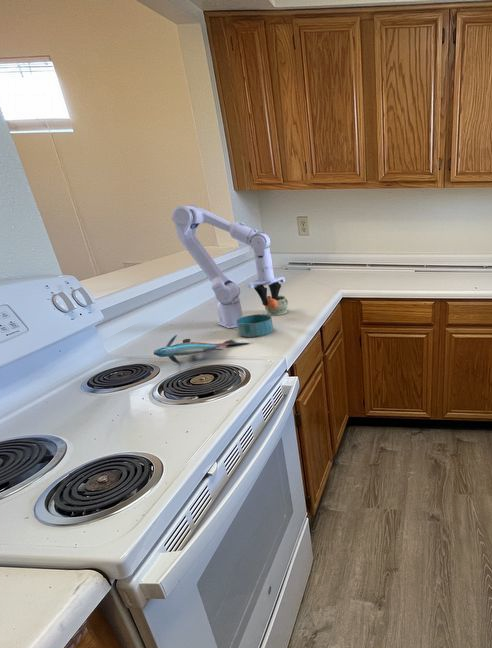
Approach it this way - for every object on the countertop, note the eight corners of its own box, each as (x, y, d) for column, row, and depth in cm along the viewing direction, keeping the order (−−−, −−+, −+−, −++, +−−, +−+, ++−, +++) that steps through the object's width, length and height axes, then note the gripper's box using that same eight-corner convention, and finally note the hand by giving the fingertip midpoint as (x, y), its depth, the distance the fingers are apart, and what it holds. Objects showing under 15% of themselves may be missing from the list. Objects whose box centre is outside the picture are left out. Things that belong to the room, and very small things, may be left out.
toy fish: (259, 306, 160) (257, 295, 159) (267, 304, 163) (265, 293, 161) (272, 310, 155) (270, 298, 153) (280, 308, 157) (279, 296, 155)
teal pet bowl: (232, 333, 150) (229, 320, 148) (262, 325, 158) (260, 312, 156) (249, 340, 143) (247, 326, 141) (280, 331, 151) (277, 318, 149)
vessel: (281, 308, 181) (279, 293, 179) (295, 310, 177) (293, 295, 174) (259, 314, 172) (256, 300, 170) (274, 317, 168) (271, 302, 165)
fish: (139, 363, 121) (168, 372, 114) (137, 334, 119) (166, 342, 112) (230, 351, 146) (258, 358, 139) (229, 327, 144) (258, 333, 137)
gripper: (252, 271, 145) (258, 309, 150) (287, 265, 155) (292, 301, 160) (242, 269, 149) (248, 306, 155) (277, 264, 159) (282, 299, 165)
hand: (270, 304), depth 158 cm, fingers closed on toy fish, 3 cm apart
